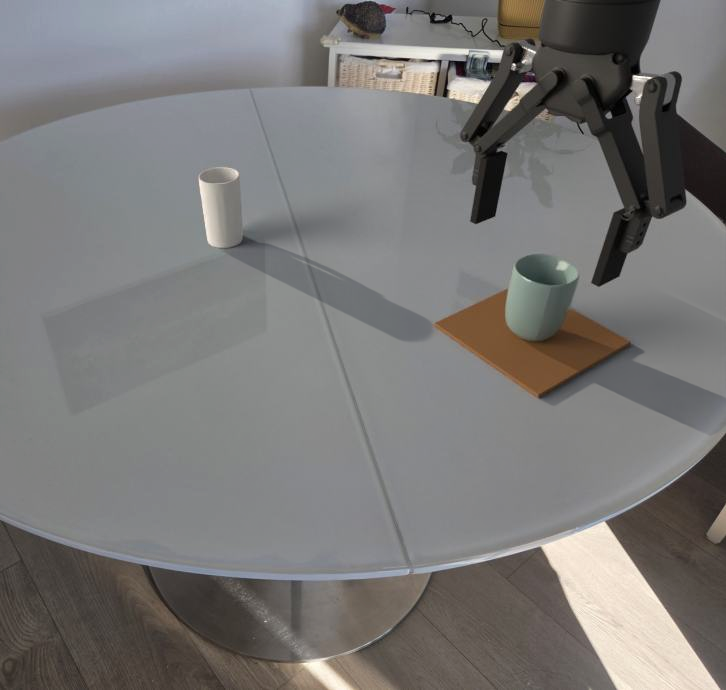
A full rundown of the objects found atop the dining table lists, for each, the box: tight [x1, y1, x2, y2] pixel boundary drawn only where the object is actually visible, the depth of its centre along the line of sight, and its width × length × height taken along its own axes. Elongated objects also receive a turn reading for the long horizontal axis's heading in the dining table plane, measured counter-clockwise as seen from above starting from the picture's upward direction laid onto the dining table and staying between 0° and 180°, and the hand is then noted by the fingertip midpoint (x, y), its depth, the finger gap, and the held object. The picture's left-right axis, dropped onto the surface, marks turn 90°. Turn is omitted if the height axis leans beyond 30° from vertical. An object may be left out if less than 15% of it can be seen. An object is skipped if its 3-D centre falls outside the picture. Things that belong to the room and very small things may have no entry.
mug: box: [198, 166, 244, 249], centre depth 110 cm, size 10×7×12 cm, turn 2°
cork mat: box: [433, 288, 632, 399], centre depth 87 cm, size 18×18×1 cm
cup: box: [505, 253, 580, 341], centre depth 84 cm, size 8×8×10 cm
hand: (539, 247), depth 58 cm, fingers open, 13 cm apart
